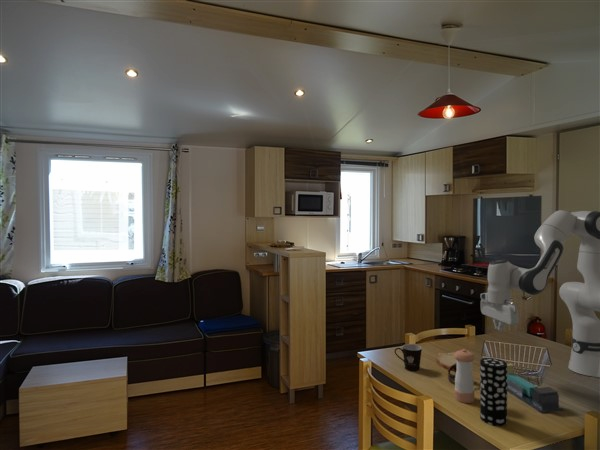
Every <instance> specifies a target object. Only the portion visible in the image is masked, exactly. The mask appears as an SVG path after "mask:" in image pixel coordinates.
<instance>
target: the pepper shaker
mask: <svg viewBox="0 0 600 450" xmlns="http://www.w3.org/2000/svg"><path fill="white" fill-rule="evenodd" d="M455 352H456V353H455V355H454V357H455V359H456V360H457V370H456V373H455V375H456V376H455V381H454V387H453V398H454V400H455V401H457V402H459V401H460V402H459V403H462V402H463V403H464V404H471V403H474V402H475V390H474V376H473V361H474V359H475V355H474V354H473V352H470V351H469V350H467V349H465V348H462V349H460V350H456V351H455ZM463 403H462V404H463Z"/></svg>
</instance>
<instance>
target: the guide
mask: <svg viewBox="0 0 600 450" xmlns="http://www.w3.org/2000/svg"><path fill="white" fill-rule="evenodd" d="M523 379H524V380H526V379H525V378H523ZM507 393H509V394H511V395H513V396H514V397H515V398H517V399H519V400H520V401H522V402H524V403H525V404H526V405H528V406H530V407H531V408H533V409H534V410H536V411H537V412H539V413H541V414H544V413H545V414H546V413H552V412H563V411H564V409H565V408H564V407H563V406H561V405H560V403H559V399H560V394H558V393H559V392H558V391H557V390H556V389H554V388H552V387H550V386H545V387H538V388H533V389H532V397H529V396H527V395H526V394H524V387H522V386H520V385H519V384H517V383H515V382H514V381H512V380H508V383H507Z"/></svg>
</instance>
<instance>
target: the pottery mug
mask: <svg viewBox="0 0 600 450" xmlns="http://www.w3.org/2000/svg"><path fill="white" fill-rule="evenodd" d="M453 368H454V371H455V374H452V373H451V372H452V371H451V370H452V369H453ZM456 370H457V363H455V364H454V365H452V366H450V367H449V369H448V370H447V372H448V374H447V379H448V381H449V382H455V376H456ZM454 371H453V372H454Z"/></svg>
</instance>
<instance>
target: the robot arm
mask: <svg viewBox="0 0 600 450" xmlns="http://www.w3.org/2000/svg"><path fill="white" fill-rule="evenodd" d="M569 236H575V237H580V244H579V250H578V256H577V264H576V268H577V271H578V272H579V273H580V274H581V275H582V278H583V280H584V282H580V281H567V282H564V283H562V285H561V286H560V288H559V297H560V298H561V300H562V301H563V302H564V304H565V305H566V307H567V309H568V310H569V315H570V317H571V321H572V337H571V339H570V340H571V350H570V351H571V352H570V359H569V361H568V366H567V368H568V369H569V370H570V371H572V372H574V373H577V374H580V375H584V376H587V377H594V378H600V318H599V317H598V316H597V315H596V313H595V312H598V313H600V211H599V210H595V211H593V210H591V211H590V210H580V211H567V210H562V209H559V210H556V211H554V212H553V213H552V214H551V215H549V216H548V217H547V218H546V219H545V221H543V222H542V224H541V225H540V226H539V227H538V229H537V230H536V232H535V234H534V236H533V239H534V242H535V244H536V246H537V247H539V249H540V250H542V252H543V253H542V254H541V256H540V259H539V260H538V262H537V264H535V266H534V267H532V268H524V267H519V265H515V264H512V263H511V262H510V261H509V260H507V259H495V260H492V261H490V262H489V264H488V267H487V282H488V287H487V292H483V293H480V312H481V314H482V315H484V316H486V317H489V318H491V319H492V321H493V324H494V330H497V331H499V332H503V331H504V327H505V324H507V325H510V326H517V325H518V324H520V317H519V310H518V307H517V305H516V303H515V302H513V301H512V298H511V295H512V294H511V293H512V292H511V291H512V290H513V289H514V290H517V291H520V292H524V293H526V294H529V295H531V296H537V295H540V294H541V293H542V292H543V291H544V290H545V289H546V287H547V284H548V281H549V278H550V277H551V274H552V273H553V271H554V269H555V267H556V266H557V264H558V262H559V260H560V258H561V256H562V254H563V252H564V243H565V242H566V240H567V239H568V237H569Z"/></svg>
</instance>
